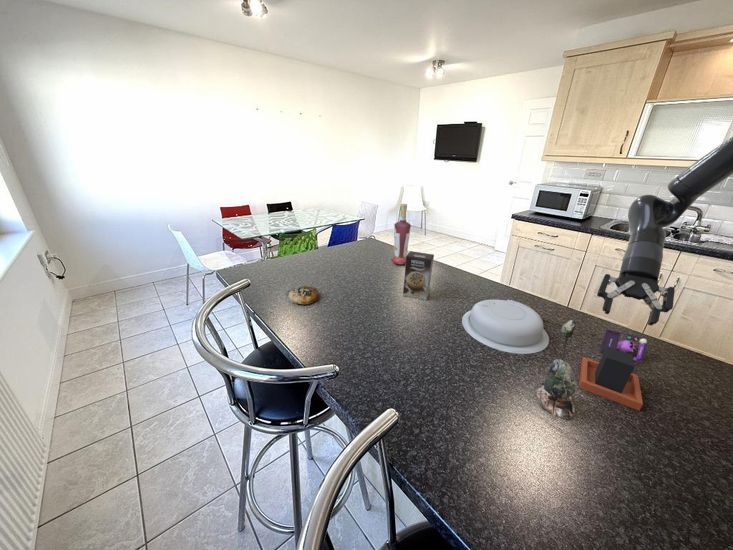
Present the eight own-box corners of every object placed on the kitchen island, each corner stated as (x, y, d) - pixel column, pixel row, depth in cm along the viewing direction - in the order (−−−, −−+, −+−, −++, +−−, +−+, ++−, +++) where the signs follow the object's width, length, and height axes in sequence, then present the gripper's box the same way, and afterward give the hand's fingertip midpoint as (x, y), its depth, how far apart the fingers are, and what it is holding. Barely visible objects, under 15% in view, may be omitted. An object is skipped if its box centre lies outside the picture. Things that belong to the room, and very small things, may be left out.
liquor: (408, 266, 137) (413, 206, 125) (392, 266, 137) (396, 205, 125) (406, 260, 144) (411, 202, 132) (391, 260, 143) (394, 202, 132)
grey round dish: (492, 359, 78) (497, 340, 76) (447, 311, 100) (450, 295, 98) (569, 347, 83) (576, 329, 81) (511, 304, 106) (515, 289, 103)
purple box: (607, 329, 80) (650, 339, 76) (602, 326, 85) (642, 335, 81) (600, 352, 81) (642, 363, 77) (596, 348, 86) (635, 358, 82)
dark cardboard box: (402, 296, 110) (405, 255, 103) (406, 289, 115) (409, 250, 109) (426, 300, 107) (431, 259, 100) (429, 293, 112) (434, 253, 106)
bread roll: (321, 290, 112) (320, 279, 109) (316, 309, 102) (315, 297, 100) (293, 291, 112) (291, 279, 109) (285, 309, 103) (282, 297, 100)
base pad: (634, 381, 72) (637, 374, 71) (639, 411, 64) (643, 404, 63) (580, 362, 78) (583, 356, 77) (579, 387, 69) (581, 381, 69)
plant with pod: (523, 406, 64) (547, 330, 56) (542, 381, 71) (567, 310, 63) (564, 431, 59) (599, 351, 50) (581, 402, 66) (614, 326, 57)
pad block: (620, 381, 71) (632, 354, 68) (621, 394, 67) (634, 366, 64) (594, 372, 74) (606, 346, 70) (594, 384, 70) (606, 357, 67)
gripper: (611, 250, 78) (597, 304, 74) (685, 262, 70) (674, 323, 66) (604, 263, 84) (590, 314, 80) (671, 275, 76) (660, 332, 73)
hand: (628, 318), depth 73 cm, fingers open, 8 cm apart
